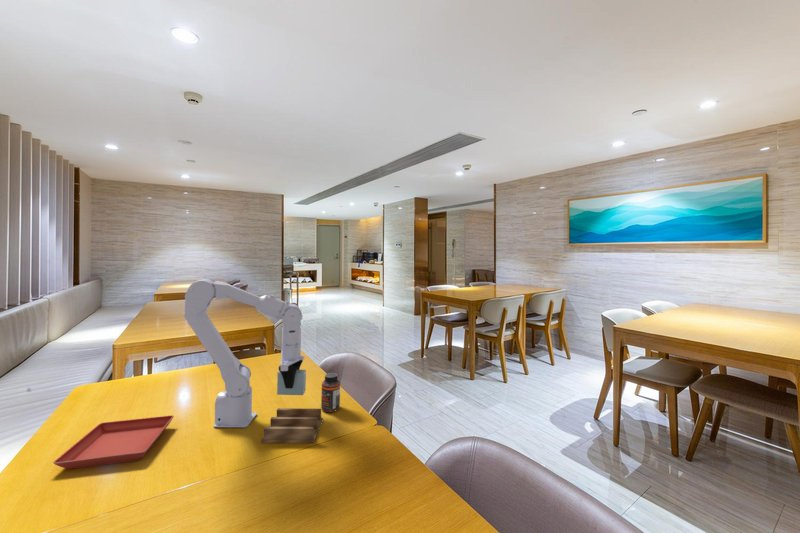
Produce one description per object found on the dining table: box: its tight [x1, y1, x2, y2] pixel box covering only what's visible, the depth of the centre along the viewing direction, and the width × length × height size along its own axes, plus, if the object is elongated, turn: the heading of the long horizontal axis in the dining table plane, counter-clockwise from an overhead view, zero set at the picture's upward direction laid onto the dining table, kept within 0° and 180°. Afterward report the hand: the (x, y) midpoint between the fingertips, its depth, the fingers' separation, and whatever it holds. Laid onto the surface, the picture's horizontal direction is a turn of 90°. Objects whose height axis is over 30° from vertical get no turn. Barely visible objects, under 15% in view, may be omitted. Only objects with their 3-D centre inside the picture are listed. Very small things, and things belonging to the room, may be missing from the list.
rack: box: [260, 407, 324, 444], centre depth 94 cm, size 14×12×4 cm
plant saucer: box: [52, 414, 174, 470], centre depth 85 cm, size 18×18×3 cm
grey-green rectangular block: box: [276, 369, 307, 396], centre depth 104 cm, size 8×3×7 cm, turn 92°
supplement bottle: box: [320, 372, 341, 413], centre depth 108 cm, size 6×6×11 cm
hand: (290, 385), depth 104 cm, fingers closed on grey-green rectangular block, 3 cm apart
